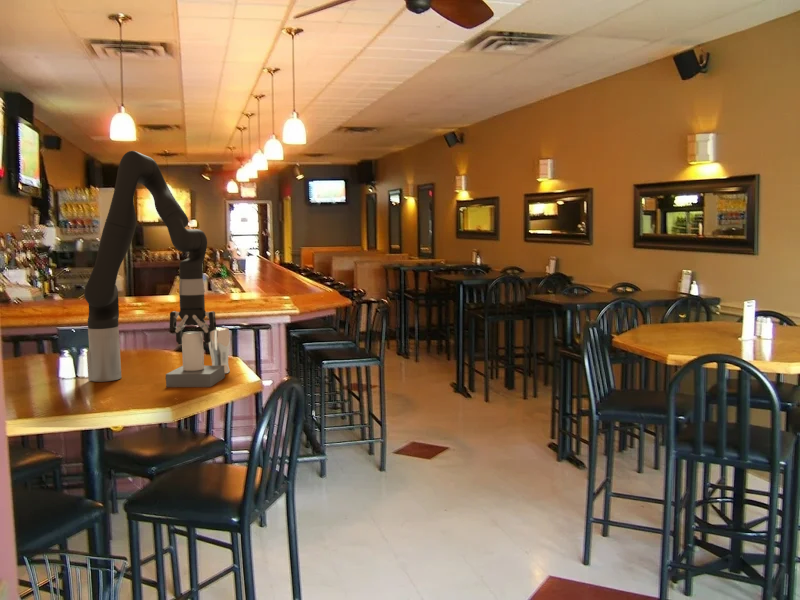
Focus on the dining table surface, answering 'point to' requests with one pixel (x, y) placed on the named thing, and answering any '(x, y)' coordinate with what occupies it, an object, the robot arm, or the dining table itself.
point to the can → (192, 351)
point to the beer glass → (220, 347)
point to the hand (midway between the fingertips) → (193, 344)
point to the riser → (195, 377)
